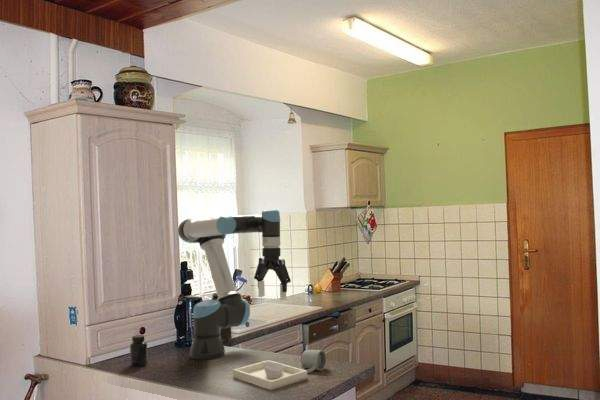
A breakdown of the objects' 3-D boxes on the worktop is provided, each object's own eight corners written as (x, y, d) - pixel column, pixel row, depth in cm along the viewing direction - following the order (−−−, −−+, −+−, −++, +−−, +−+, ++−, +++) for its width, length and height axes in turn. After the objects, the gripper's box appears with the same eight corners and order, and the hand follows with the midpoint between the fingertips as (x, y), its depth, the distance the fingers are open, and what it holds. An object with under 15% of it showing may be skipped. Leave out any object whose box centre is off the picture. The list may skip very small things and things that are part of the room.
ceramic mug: (309, 365, 228) (308, 346, 228) (326, 367, 224) (326, 348, 224) (295, 372, 219) (295, 352, 219) (314, 375, 215) (313, 355, 215)
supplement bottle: (139, 361, 237) (139, 333, 238) (150, 364, 234) (150, 335, 234) (126, 366, 232) (126, 336, 232) (138, 368, 228) (138, 338, 228)
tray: (233, 377, 213) (233, 369, 213) (268, 367, 226) (268, 360, 226) (271, 390, 197) (271, 381, 197) (307, 378, 210) (307, 370, 210)
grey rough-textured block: (276, 387, 208) (279, 375, 206) (260, 383, 209) (263, 370, 207) (281, 372, 218) (284, 359, 216) (266, 367, 218) (269, 355, 216)
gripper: (245, 246, 240) (246, 296, 239) (285, 248, 222) (285, 302, 222) (258, 245, 245) (259, 294, 245) (298, 247, 227) (299, 300, 227)
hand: (272, 298), depth 233 cm, fingers open, 13 cm apart
